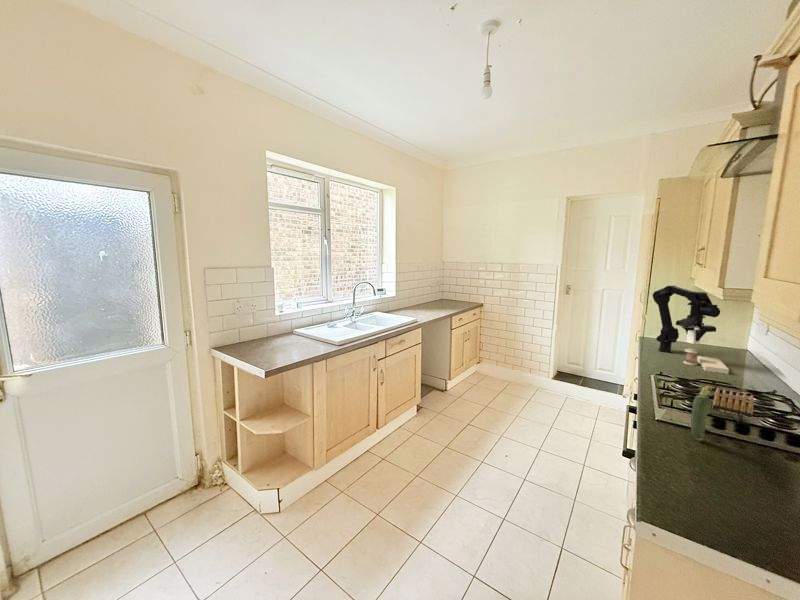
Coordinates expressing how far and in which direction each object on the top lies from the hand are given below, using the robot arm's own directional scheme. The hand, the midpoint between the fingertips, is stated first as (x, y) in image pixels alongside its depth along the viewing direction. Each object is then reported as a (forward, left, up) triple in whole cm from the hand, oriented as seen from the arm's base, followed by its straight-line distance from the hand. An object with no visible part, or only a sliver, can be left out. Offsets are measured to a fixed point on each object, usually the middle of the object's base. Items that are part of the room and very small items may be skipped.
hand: (693, 340), depth 185 cm
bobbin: (+8, -1, -12) cm, 14 cm away
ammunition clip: (+81, 0, -12) cm, 82 cm away
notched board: (+8, +8, -12) cm, 16 cm away
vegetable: (+104, -13, -12) cm, 105 cm away
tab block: (0, 0, -2) cm, 2 cm away
